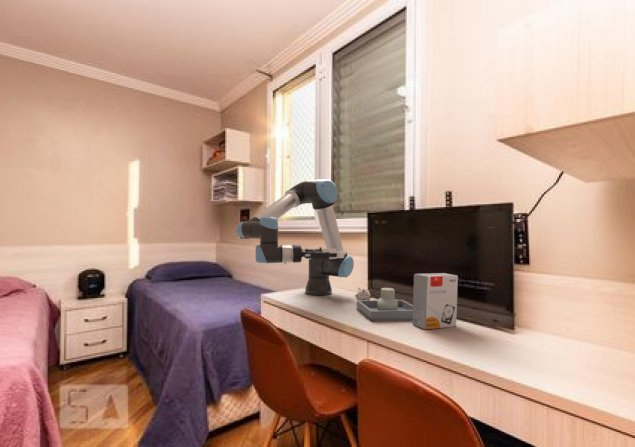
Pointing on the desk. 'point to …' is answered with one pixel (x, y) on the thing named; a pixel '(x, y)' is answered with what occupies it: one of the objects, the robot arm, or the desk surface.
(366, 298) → the game die
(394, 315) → the tray
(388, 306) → the air freshener
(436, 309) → the hard drive box
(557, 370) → the desk surface
